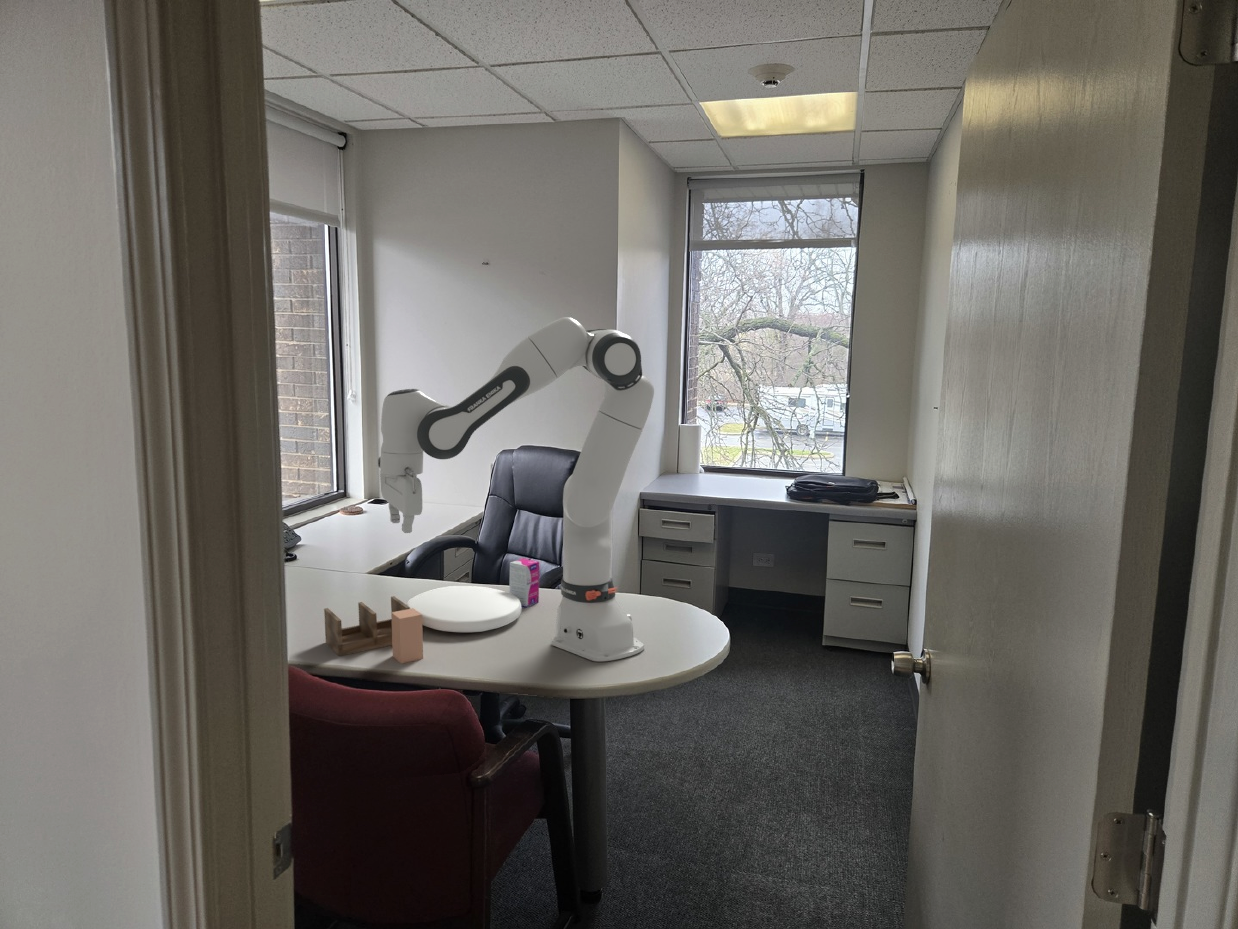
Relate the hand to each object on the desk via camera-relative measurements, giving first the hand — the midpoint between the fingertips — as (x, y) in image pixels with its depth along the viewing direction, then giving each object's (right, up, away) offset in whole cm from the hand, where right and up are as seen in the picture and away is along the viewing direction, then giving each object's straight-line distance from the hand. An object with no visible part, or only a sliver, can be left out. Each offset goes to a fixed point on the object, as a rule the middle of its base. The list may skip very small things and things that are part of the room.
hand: (400, 527), depth 177 cm
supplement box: (+22, -23, +39) cm, 50 cm away
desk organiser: (-10, -27, +11) cm, 31 cm away
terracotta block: (+1, -29, +2) cm, 29 cm away
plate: (+9, -25, +27) cm, 38 cm away
